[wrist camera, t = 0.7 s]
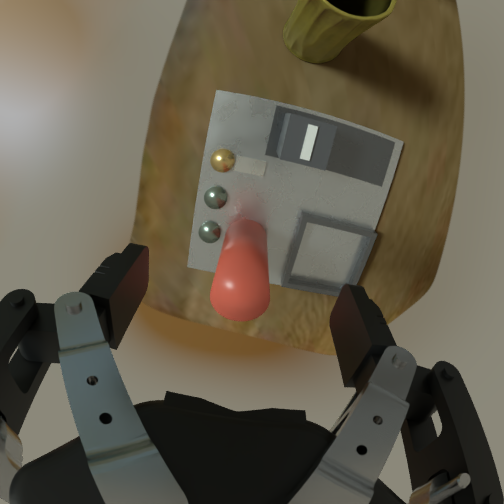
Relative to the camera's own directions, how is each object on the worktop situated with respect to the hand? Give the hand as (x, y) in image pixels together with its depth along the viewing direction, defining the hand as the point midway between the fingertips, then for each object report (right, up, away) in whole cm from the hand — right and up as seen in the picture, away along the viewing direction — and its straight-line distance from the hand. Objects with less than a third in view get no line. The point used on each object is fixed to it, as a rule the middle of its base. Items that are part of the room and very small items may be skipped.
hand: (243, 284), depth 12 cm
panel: (+5, +7, +19) cm, 21 cm away
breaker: (+5, +13, +16) cm, 21 cm away
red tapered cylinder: (0, +3, +21) cm, 21 cm away
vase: (+6, +23, +11) cm, 26 cm away
